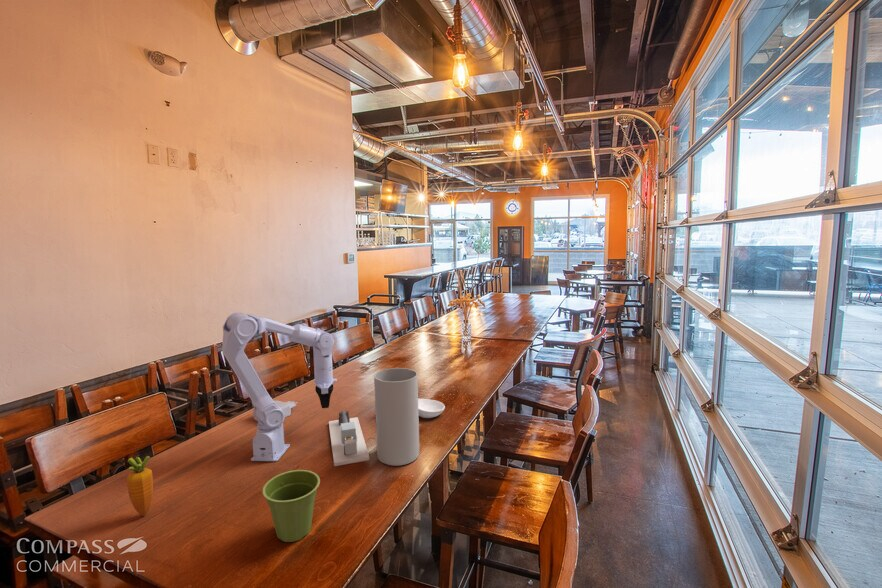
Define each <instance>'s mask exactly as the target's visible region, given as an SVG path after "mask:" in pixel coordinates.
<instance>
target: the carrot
mask: <svg viewBox="0 0 882 588" xmlns="http://www.w3.org/2000/svg"><path fill="white" fill-rule="evenodd" d="M150 459H151V458H150V456H148V455H146V456H145V457H144V460H143V461H142V459H141V458H140V457H139V456H138V457H137V456H136V457H135V458H133V457H130V458H128V460H127V463H129V464H130V465H131V466H129V467H128V470H131V472H129V474H128V475H127V477H126V485H127V491H128V495H129V499H130V502H131V504H132V506H133V508H134V509H135V511H136V512H137V513H138V514H139V515H140V516H142V517H146V516H147V514H148V512H149V510H150V507H151V504H152V501H153V494H154V478H153V471H152V469H150V468H148V467H146V465H147V463H148V461H149V460H150Z"/></svg>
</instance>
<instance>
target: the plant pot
mask: <svg viewBox="0 0 882 588" xmlns="http://www.w3.org/2000/svg"><path fill="white" fill-rule="evenodd" d="M320 483H321V478H320V477H319V475H318V473H315V472H313V471H312V470H305V469H295V470H289V471H284V472H282V473H279V474H277V475H275V476H273V477H272V478H271V479H269V480H268V481H267V482H266V483H265V484H264V485H263V487H262V496H263V497H264V498H265V499H266V501H267V505H268V507H269V509H270V513H271V518H272V521H273V525H274V529H275V533H276V538H278V540H280V541H282V542H284V543H292V542H293V543H294V542H297V541H300V540H302V539H303V538H304V537H305V536H307V535H309V534H310V531H311V529H312V524H313V523H312V522H313V515H314V507H315V499H316V495H317V492H318V488H319V487H320Z"/></svg>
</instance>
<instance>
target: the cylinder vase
mask: <svg viewBox="0 0 882 588" xmlns="http://www.w3.org/2000/svg"><path fill="white" fill-rule="evenodd" d="M418 375H419V374H418V372H417V371H416V370H414V369H411V368H406V367H405V368H404V367H395V368H394V367H393V368H392V367H391V368H386V369H382V370H379V371H377V372H376V373H375V374H374V375H373V376H374V377H373V381H374V404H375V405H374V407H375V429H376V431H375V434H376V437H375V438H376V455H377V457H376V458H377V459H378V461H380V462H381V463H382V464H384V465H388V466H393V467H394V466H395V467H397V466H399V467H400V466H404V465H408V464H410V463H413V462H414V461H415V460H417V458H418V457H419V456H420V421H419V420H420V419H419V417H420V416H419V414H418V398H419V386H418V385H419V380H418Z"/></svg>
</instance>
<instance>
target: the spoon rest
mask: <svg viewBox="0 0 882 588" xmlns="http://www.w3.org/2000/svg"><path fill="white" fill-rule="evenodd" d="M445 409H446V406H445V404H444V403H443V402H441V401H439V400H435V399H429V398H419V397H418V414H419V417H420V418H423V419H432V418H435V417H438V416H439V415H441V414H442V413H443V412H444V411H445Z"/></svg>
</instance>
